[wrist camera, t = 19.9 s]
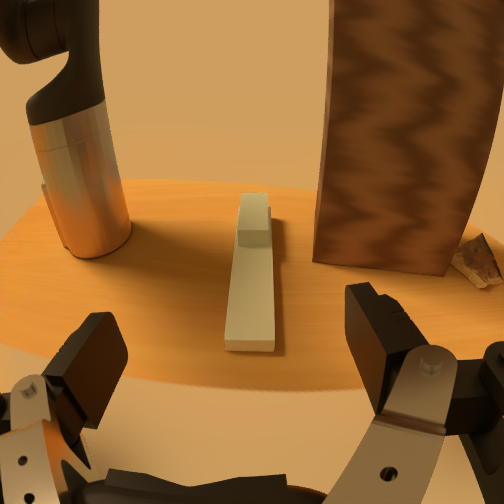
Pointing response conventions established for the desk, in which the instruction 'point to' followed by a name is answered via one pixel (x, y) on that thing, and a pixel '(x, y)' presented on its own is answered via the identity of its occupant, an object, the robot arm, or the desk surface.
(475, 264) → the shard
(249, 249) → the cream plank with block
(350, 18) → the walnut stand
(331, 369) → the desk surface
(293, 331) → the desk surface
